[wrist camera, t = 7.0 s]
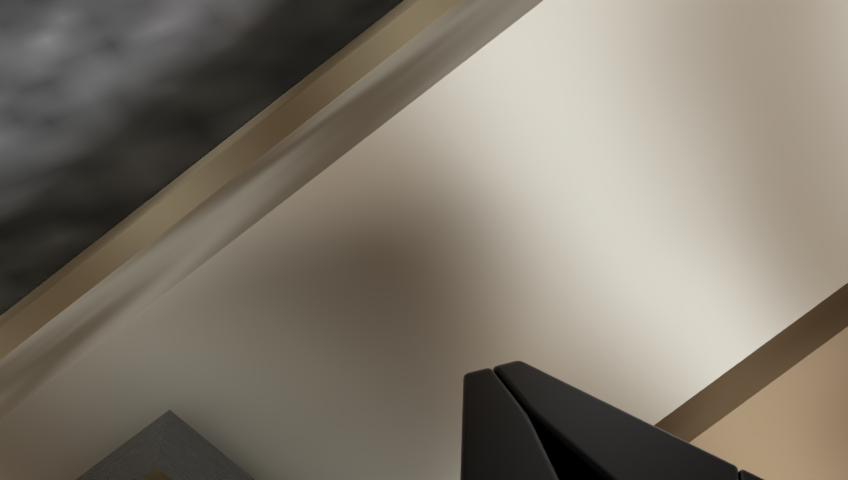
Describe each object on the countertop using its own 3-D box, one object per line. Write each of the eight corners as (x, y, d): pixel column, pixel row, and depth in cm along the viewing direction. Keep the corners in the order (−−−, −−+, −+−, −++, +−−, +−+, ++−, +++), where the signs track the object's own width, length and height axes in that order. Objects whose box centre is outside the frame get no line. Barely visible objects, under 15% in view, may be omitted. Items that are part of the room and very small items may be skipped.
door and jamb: (385, 718, 22) (433, 1012, 15) (-109, 400, 14) (-431, 741, 7) (914, 333, 21) (1194, 477, 15) (716, -245, 13) (1145, -481, 7)
